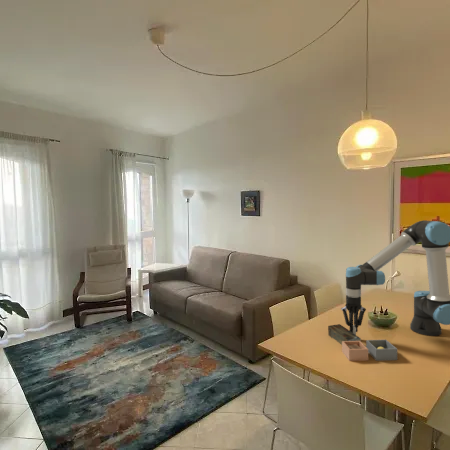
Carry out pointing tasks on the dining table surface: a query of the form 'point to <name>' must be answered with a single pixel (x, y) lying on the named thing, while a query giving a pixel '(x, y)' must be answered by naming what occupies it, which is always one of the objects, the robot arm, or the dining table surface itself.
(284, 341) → the dining table surface
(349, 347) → the walnut cube
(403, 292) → the dining table surface
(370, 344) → the grey tub
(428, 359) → the dining table surface
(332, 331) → the dark grey long box
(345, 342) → the pink open box
